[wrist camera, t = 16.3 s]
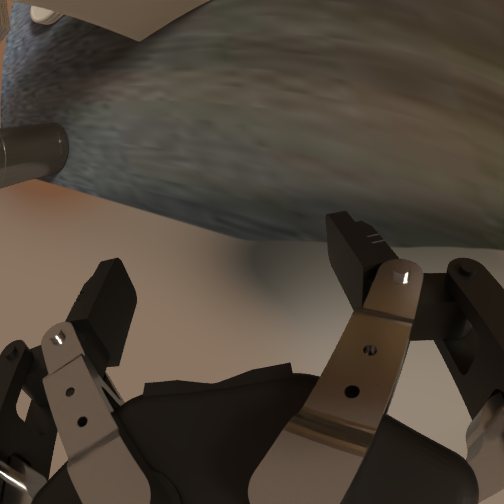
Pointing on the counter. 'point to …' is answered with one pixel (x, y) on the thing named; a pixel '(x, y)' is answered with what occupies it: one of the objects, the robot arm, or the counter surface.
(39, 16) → the coaster
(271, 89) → the counter surface
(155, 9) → the cabinet
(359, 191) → the counter surface
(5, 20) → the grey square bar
